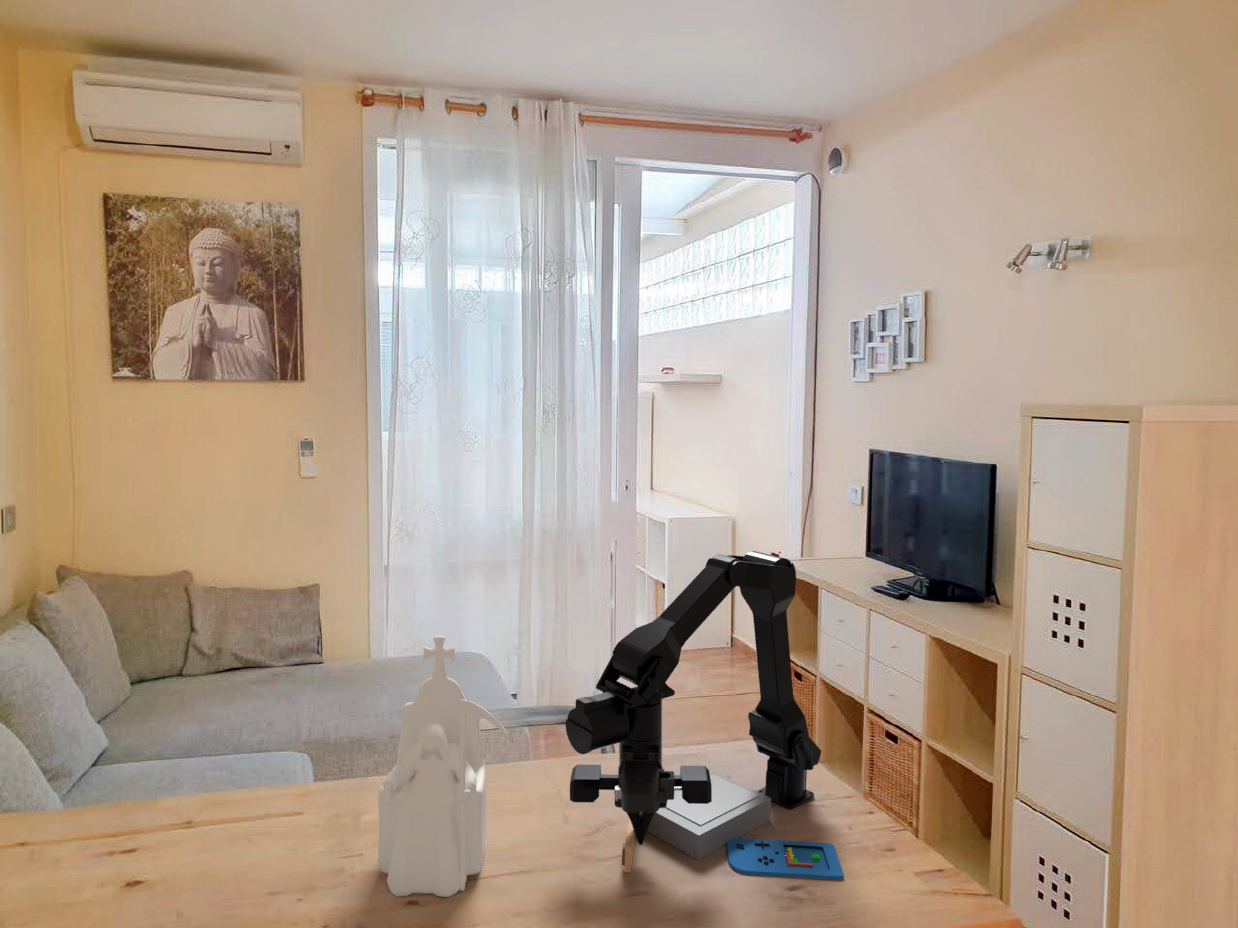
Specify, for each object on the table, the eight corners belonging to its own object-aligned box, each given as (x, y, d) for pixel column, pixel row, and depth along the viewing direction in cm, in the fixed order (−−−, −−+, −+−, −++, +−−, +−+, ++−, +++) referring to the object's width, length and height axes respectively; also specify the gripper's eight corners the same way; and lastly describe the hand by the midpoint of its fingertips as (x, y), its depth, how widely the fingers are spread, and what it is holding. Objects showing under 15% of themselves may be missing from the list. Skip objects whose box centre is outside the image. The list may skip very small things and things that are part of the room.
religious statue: (367, 900, 109) (363, 668, 105) (394, 839, 123) (391, 631, 119) (506, 902, 110) (507, 670, 106) (517, 841, 123) (519, 634, 119)
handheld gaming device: (726, 835, 125) (833, 840, 124) (726, 842, 125) (833, 848, 124) (730, 867, 117) (844, 874, 116) (729, 875, 117) (844, 882, 116)
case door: (636, 825, 128) (637, 801, 127) (630, 872, 116) (631, 846, 116) (628, 824, 128) (629, 801, 127) (621, 871, 116) (622, 845, 116)
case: (708, 790, 139) (709, 768, 139) (770, 820, 131) (771, 796, 130) (636, 824, 128) (637, 801, 128) (698, 859, 120) (699, 834, 119)
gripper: (565, 758, 110) (566, 876, 112) (715, 760, 109) (714, 878, 111) (572, 722, 121) (573, 830, 123) (708, 724, 120) (707, 832, 122)
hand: (640, 843), depth 119 cm, fingers closed
